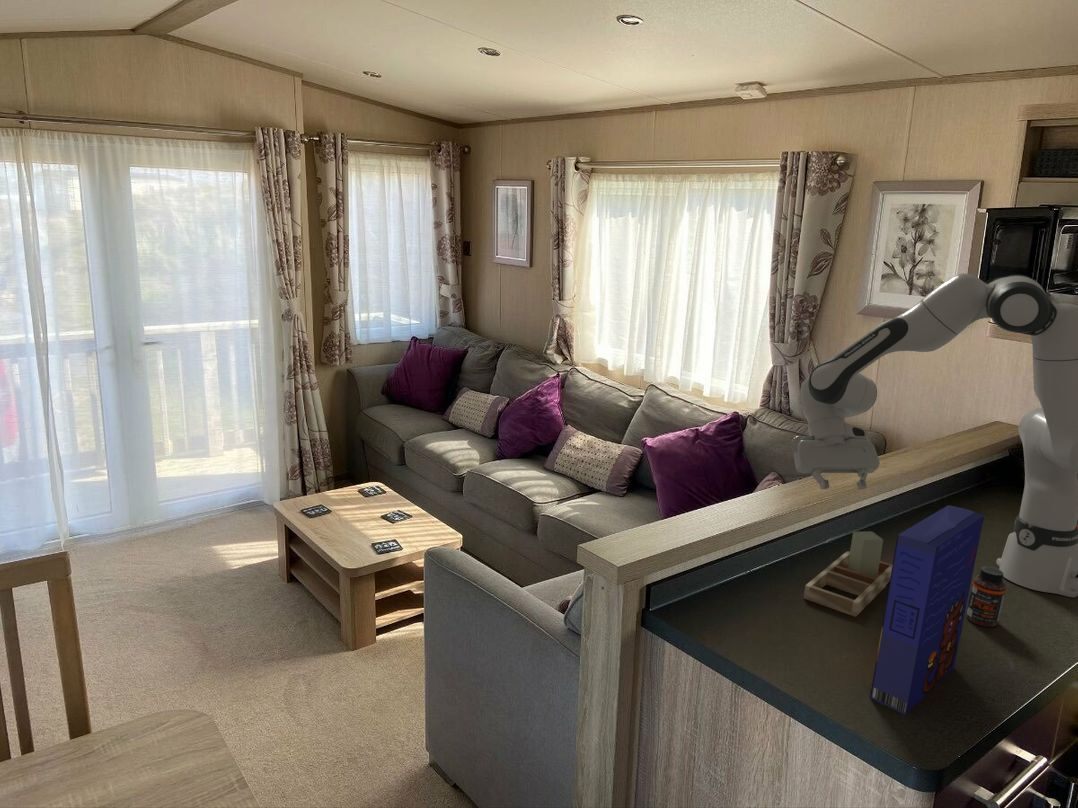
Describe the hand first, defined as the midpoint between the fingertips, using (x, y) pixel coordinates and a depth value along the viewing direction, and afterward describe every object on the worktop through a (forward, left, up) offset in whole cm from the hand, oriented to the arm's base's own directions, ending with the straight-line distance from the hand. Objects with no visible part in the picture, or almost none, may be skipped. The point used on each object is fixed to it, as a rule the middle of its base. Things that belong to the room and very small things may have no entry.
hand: (844, 488), depth 189 cm
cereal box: (+26, +47, -17) cm, 56 cm away
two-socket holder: (+9, +15, -17) cm, 24 cm away
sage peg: (+3, +12, -17) cm, 21 cm away
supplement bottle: (-6, +35, -17) cm, 40 cm away
